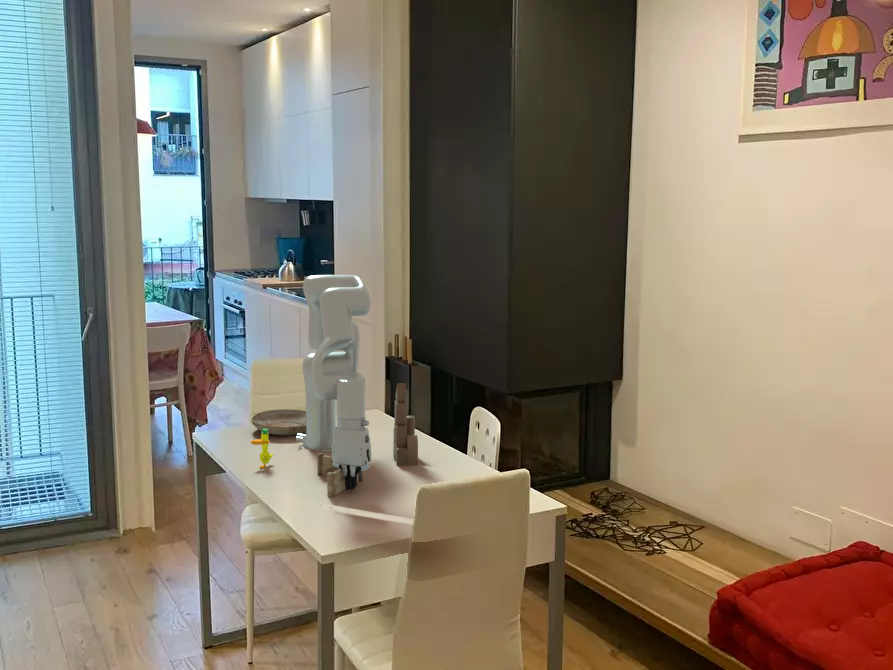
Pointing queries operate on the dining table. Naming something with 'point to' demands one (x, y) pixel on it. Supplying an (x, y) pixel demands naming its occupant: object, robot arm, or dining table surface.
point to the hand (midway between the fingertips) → (351, 488)
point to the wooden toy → (404, 431)
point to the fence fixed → (329, 466)
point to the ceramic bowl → (281, 421)
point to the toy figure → (263, 448)
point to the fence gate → (336, 482)
